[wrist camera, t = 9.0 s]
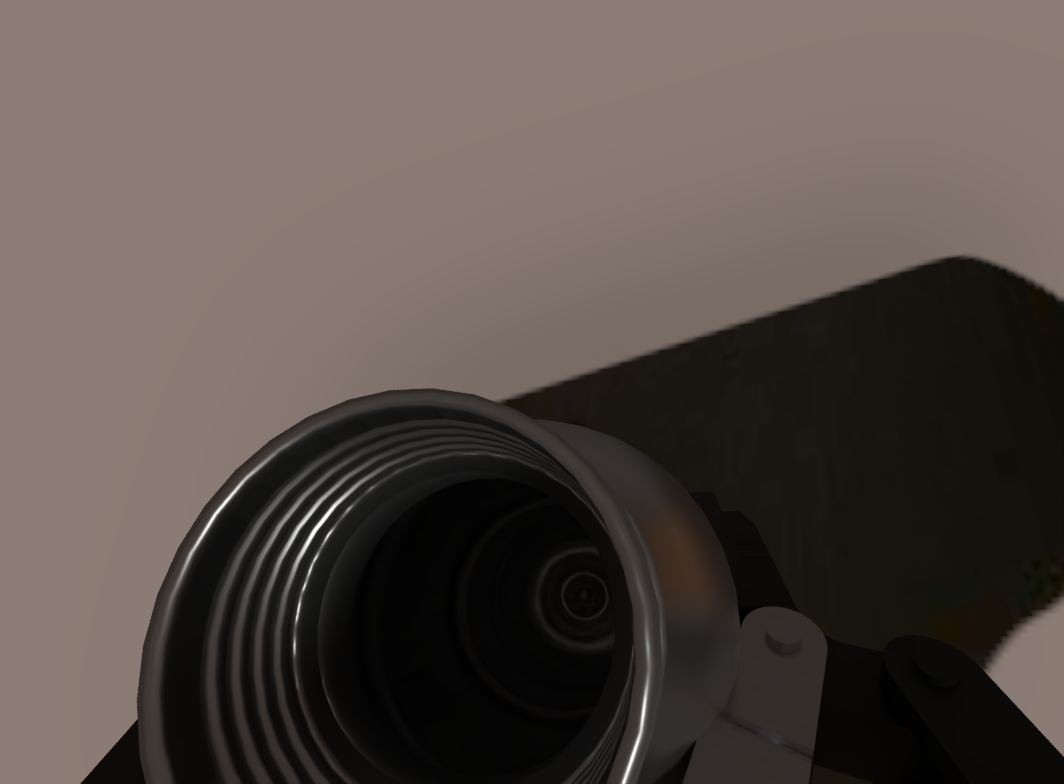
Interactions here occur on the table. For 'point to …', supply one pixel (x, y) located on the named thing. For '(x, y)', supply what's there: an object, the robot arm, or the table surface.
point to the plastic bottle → (439, 609)
